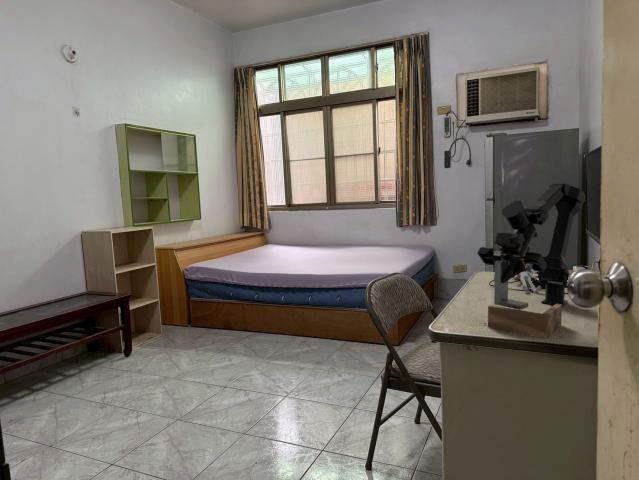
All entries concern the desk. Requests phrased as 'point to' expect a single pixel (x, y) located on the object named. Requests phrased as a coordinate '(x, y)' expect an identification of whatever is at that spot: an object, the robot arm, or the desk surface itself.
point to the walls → (525, 320)
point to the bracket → (504, 288)
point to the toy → (526, 277)
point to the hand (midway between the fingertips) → (498, 281)
